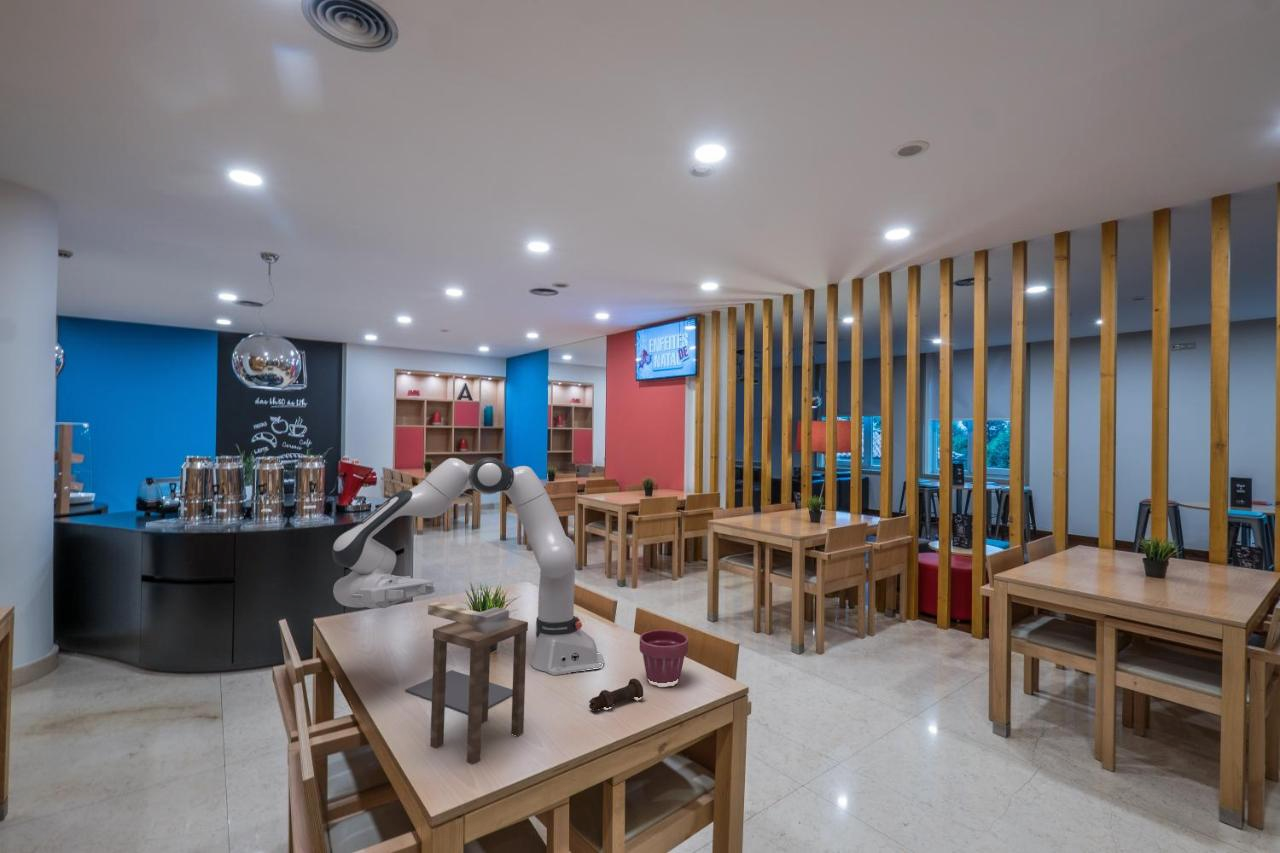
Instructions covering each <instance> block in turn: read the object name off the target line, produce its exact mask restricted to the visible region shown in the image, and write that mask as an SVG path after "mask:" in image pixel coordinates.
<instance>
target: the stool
mask: <svg viewBox="0 0 1280 853" xmlns="http://www.w3.org/2000/svg"><path fill="white" fill-rule="evenodd" d="M528 631H529V622H528V621H525V620H521V619H517V618H512V617H509V623H508V626H506V627H503V628H501V629H498V630H495V631H493V632H490V633H487V634H485V633H481V632H477V631H473V626H471V625H467V624H463V623H460V622H456V621H453V622H451V623H448V624H445V625H441V626H438V627H436V628H433V629H432V639H433V654H432V655H433V657H432V659H433V660H432V661H433V662H432V678H433V681H432V701H431V709H430V710H431V714H430V715H431V717H430V740H429V741H430V742H429V746H430V747H432V748H434V749H439V748H440V747H442V746H444V743H445V742H444V741H445V740H444V737H445V736H444V735H445V716H446V715H445V714H446V712H445V709H446V707H445V686H446V672H447V650H448V644H452V645H455V646H459V647H463V648H465V649H469V651H470V652H469V654H470V655H469V657H470V658H469V676H470V677H469V708H468V715H467V741H466V742H467V743H466V747H467V748H466V763H469V764H471V765H473V764H474V765H475V764H477V763H478V762H480V761H481V756H482V753H481V752H482V749H481V748H482V724H484V723H485V722H487V721H488V719H489V709H488V698H489V682H490V666H491V665H490V662H491V661H490V660H491V646H493V645H495V644H497V643H500V642H503V641H505V640H508V639H511V638H513V663H512V664H513V665H512V666H513V668H512V689H513V692H512V697H511V698H512V699H511V725H510V726H511V729H510V730H511V731H510V734H513V735H512V736H514V735H516V736H518V737H520V736H521V735H523V734H524V732H525V731H524V727H525V726H524V722H525V694H526V664H527V663H526V656H527V632H528ZM522 733H523V734H522ZM520 734H521V735H520ZM519 735H520V736H519ZM516 736H515V737H516ZM479 760H480V761H479ZM476 762H477V763H476Z"/></svg>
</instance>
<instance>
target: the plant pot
mask: <svg viewBox="0 0 1280 853" xmlns="http://www.w3.org/2000/svg"><path fill="white" fill-rule="evenodd" d="M639 652H640V653H641V654H642V657H643V664H644V669H645V675H646V678H648V679H649V680H650V681H653V682H657V683H667V682H673V681H676V680H677V679H679V680H680V678H679V677H680V676H681V673H682V669H683V666H684V659H685V656H686V655H687V654H688V653H689V637H688V636H687V635H686V634H684V633H682V632H679V631H677V630H671V629H655V630H654V629H653V630H649V631H646V632H643V633H642V634H640V636H639Z"/></svg>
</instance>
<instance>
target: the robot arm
mask: <svg viewBox="0 0 1280 853" xmlns="http://www.w3.org/2000/svg"><path fill="white" fill-rule="evenodd" d="M467 490H472V491H474V492H477V493H479V494H482V495H493V494H497V493H499V492H503V493H504V494H505V495H506V496H507V497H508V499H509V500H510V502H511V504H512V506H513V508H514V511H515V513H516V514H517V517H518V519H519V521H520V523H521V525H522V527H523V528H524V532H525V534H526V536H527V539H528V542H529V545H530V548H531V550H532V552H533V554H534V557H535V561H537V564H538V567H539V569H540V570H539V572H540V573H539V584H538V602H537V605H538V606H537V617H536V621H535V636H536V640H535V647H534V651H533V656H532V660H531V663H530V664H531V667H532V668H534V669H535V670H537V671H542V672H545V673H548V674H550V675H551V676H556V675H565V674H567V673H568V674H572V673H571V672H576V671H582V670H587V669H593V668H599V667H601V666H602V664H603V662H604V663H605V658H604V655H602V653H600V652H599V651H598V648H597V644H596V642H595V640H594V639H593V638H592V637H591V636H590V635H589V634H588V633H586V632H585V631H584V630H582V627H583V624H582V621H581V620H580V618H579V617H578V616H575V615H574V612H575V611H574V610H575V609H574V608H575V607H574V606H575V576H576V546H575V543H574V542H573V540H572V538H570V537H568V536H567V535H566V533H565V530H564V528H563V525H562V523H561V519H560V518H559V517H560V516H559V515H558V513H557V511H556V508H555V507H554V504H553V502H552V500H551V499H550V497H549V494H548V492H547V490H546V489H545V487H544V484H543V483H542V481H541V480H540V478H539V476H538V475H537V474H536V473H535V471H534V470H533V469H532V468H531V467H529V466H528V465H527V466H526V465H520V466H516V467H514V468H512V467H510V465H508V464H506V463H505V462H503V461H502V460H501V459H498V458H496V457H490V456H487V457H486V456H485V457H483V458H481V459H479V460H477V461H476V462H475V463H474V464H468V463H466V462H465V461H463V460H461V459H460V458H456V457H450V458H448V459H447V458H446V459H445V460H444V461H442V462H441V463H440V464H439V465H438V466H437V467H436V468H435V469H433V470H432V471H431V472H430V473H429V474H428V475H427V476H426V477H425V478H424V479H423V480H422V481H421V482H420V483H419V484H417V485H416V486H414V487H411V488H410V489H402V490H400V491H399V490H398V492H396V493H395V494H393V495H392V496H391V497H389V498H388V499H387V500H385V501H384V502H382V503H381V504H380V505H379V506H378V507H377V508H375V509H374V510H373V511H371V513H369V514H367V516H365V517H364V518H363V519H362V520H360V521H359V522H358V523H356V524H355V525H354V526H352V527H351V528H349V529H347V530H346V531H344V532H342V533H341V534H340V535H339V536H337V538H336V539H335V540H334V542H333V544H332V548H331V550H332V551H331V553H332V558H333V561H334V563H335V564H337V565H339V566H342V567H344V568H346V569H350V570H352V571H351V572H349V573H348V574H347V575H345V576H343V577H340V578H339V579H337V580H336V582H335V583H334V585H333V590H332V592H333V596H334V598H335V600H336V602H337V603H339V604H340V605H342V606H345V607H348V608H358V609H359V608H369V609H370V608H371V609H386V608H389V607H391V606H393V605H395V604H397V603H400V602H404V601H406V600H410V599H411V598H415V597H420V596H427V595H431V594H433V593H435V592H436V591H435V590H436V586H435V585H434V581H433V580H432V579H427V578H416V577H415V578H413V577H412V576H411V575H395V572H396V568H397V564H398V556H397V553H396V552H395V551H394V550H392V549H391V548H389V547H388V546H386V545H384V544H382V543H380V542H378V541H377V540H376V539H374V538H373V537H374V536H375V535H376V534H378V533H379V532H380V531H381V530H382V529H383V528H385V527H386V526H388V524H390V523H391V522H392V521H394V520H395V519H396V518H399V517H403V516H411V517H412V516H413V517H418V518H423V519H433V518H437V517H439V516H441V515H443V514H444V513H445V512H446V511H447V510H448V509H449V508H450V507H451V506H452V505H453V504H454V503H455V502H456V500H457V499H458V498H459V497H460V496H461V495H462V494H463V493H464V492H465V491H466V492H467ZM597 653H600V654H597ZM599 663H601V664H599ZM576 673H577V672H576Z"/></svg>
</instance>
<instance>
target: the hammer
mask: <svg viewBox="0 0 1280 853" xmlns="http://www.w3.org/2000/svg"><path fill="white" fill-rule="evenodd" d="M427 615H429V616H432V617H437V618H441V619H444V620H445V619H446V620H449V621H452V622H460V623H463V624H467V625H471V626H473V631H477V632H481V633H485V634H487V633H490V632H493V631H495V630H498V629H501V628H503V627H506V626H508V623H509V618H510V617H509V616H510V610H509V609H506V608H502V607H497V606H496V607H491V608H489V609H486V610H483V611H476V610H471V609H469V608H468V609H467V608H463V607H460V606H455V605H451V604H446V603H442V602H437V601H436V602H432V603H428V604H427Z"/></svg>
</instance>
